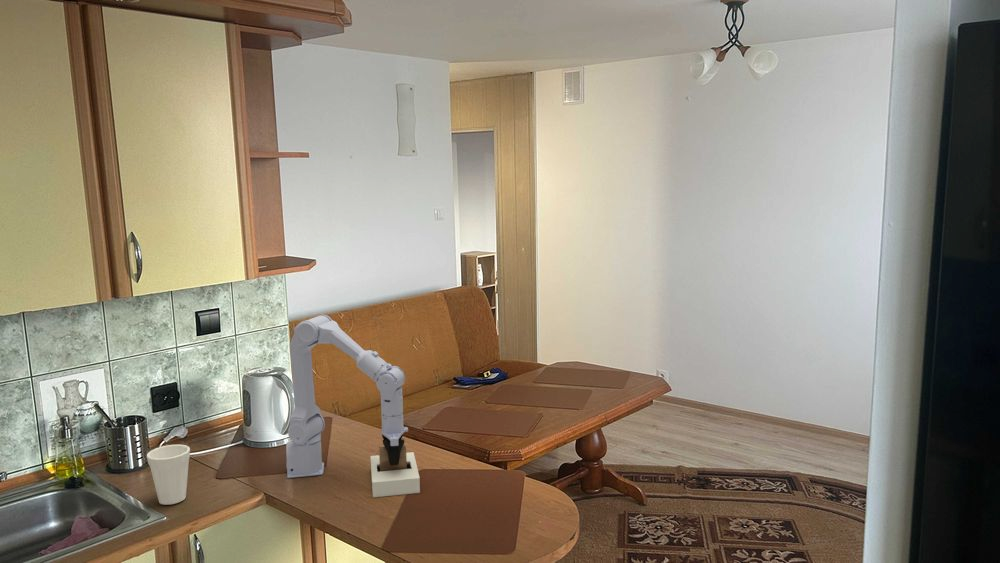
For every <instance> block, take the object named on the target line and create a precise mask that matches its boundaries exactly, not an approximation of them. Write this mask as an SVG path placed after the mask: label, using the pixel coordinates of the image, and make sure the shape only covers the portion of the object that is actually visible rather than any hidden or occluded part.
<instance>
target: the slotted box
mask: <svg viewBox="0 0 1000 563" xmlns="http://www.w3.org/2000/svg"><path fill="white" fill-rule="evenodd" d="M406 461H407V469H402V470H391V471H381V472H380V459H379V454H377V455H370V473H371V490H372V498H380V497H390V496H398V495H399V496H400V495H410V494H420V493H421V486H420V485H421V483H420V480H421V478H420V474H419V469H418V466H417V462H416V457H415V452H412V451H411V452H410V451H409V452H406Z"/></svg>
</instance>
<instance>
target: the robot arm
mask: <svg viewBox="0 0 1000 563" xmlns="http://www.w3.org/2000/svg"><path fill="white" fill-rule="evenodd" d="M317 344H318V345H319V344H320V345H321V344H324V345H325V344H326V345H327V344H329V345H330V344H332V345H334V346H335V347H337V348H338V349H339V350H341V351H342V352H343V353H345V354H346V355H348V356H349V357H351V358H352V359H353V360H355V363H356V367H357V368H358V369H359V370H360V371H361V372H363V374H365V375H367V377H369V379H370V378H371V380H372V381H373V382H375V385H376V389H377V390H378V391H379V394H380V410H381V412H380V413H381V415H380V416H381V417H380V418H381V430H380V431H381V432H380V433H381V437H382V445H383V447H385V448H386V450H387V453H388V458H389V462H390V465H391V466H392V465H398V464H399V459H400V452H401V449H402V447H403V445H405V439H404V438H403V436H404V433H407V432H409V427H408V426H404V401H403V400H404V399H403V398H404V396H403V385H404V384H405V382H406V374H405V372H404V370H403V369H402V368H401V367H399V366H397V365H393V366H392V364H391V363H390V362H389V363H388V362H386V361H385V359H383V358H381V357H380V356H379V353H378V352H377V351H376V350H374V351H373V350H371V349H369V350H365V349H363V347H361V346H360V345H359V344H358V343H357V342H356V341H354V340H353V339H352V337H350V336H349V335H348V334H347V333H346V332H345V331H344V330H342V329H341V327H340V325H339V324H338V322H337V321H335V320H332V318H331V317H330V316H328V315H326V314H319V315H317V316H315V317H312V318H309V319H306V320H302V321H300V322H299V323H298V324H297V325H296V326H295V327H294V328H293V335H292V338H291V340H290V343H289V355H290V364H291V365H290V366H291V374H292V375H291V376H292V389H293V396H294V397H293V398H294V399H293V400H294V409H293V411H292V413H291V415H290V418H289V426H288V430H287V436H288V438H289V440H290V441H287V442H286V448H285V453H286V454H285V456H286V464H285V465H286V466H285V467H286V474H287V475H286V478H287V479H291V478H303V477H304V478H305V477H313V476H322V475H323V474H324V468H325V462H323V460H322V457H323V456H322V442H321V441H322V438H321V437H322V432H323V431H324V429H325V426H326V424H325V423H326V422H325V419H324V417H323V415H322V412H321V408H320V407H319V406H317V404H316V396H315V384H314V372H313V361H312V360H313V359H312V349H313V348H315V346H316V345H317Z"/></svg>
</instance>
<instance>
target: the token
mask: <svg viewBox="0 0 1000 563" xmlns="http://www.w3.org/2000/svg"><path fill="white" fill-rule="evenodd" d="M378 452H379V454H378V455H379V459H380V470H379V472H381V471H391V470H402V469H408V467H407V461H406V453H407V445H406V444H404V445H403V447H402V449H401V452H400V459H399V464H398V465H392V466H391V465H390V462H389V458H388V453H387V450H386V448H385V446H379V447H378Z"/></svg>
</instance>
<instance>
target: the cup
mask: <svg viewBox="0 0 1000 563" xmlns="http://www.w3.org/2000/svg"><path fill="white" fill-rule="evenodd" d="M190 454H191V448H190V446H188V445H186V444H168V445H163V446H159V447H156V448H154V449H151V450H149V452H147V454H146V460H147V463H148V465H149V467H150V471H151V475H152V479H153V484H154V488H155V492H156V496H157V499H158V502H159V504H160V505H174V504H178V503H180V502H182V501H184V500H185V499H186V496H187V487H188V473H189V461H190V458H191V455H190Z"/></svg>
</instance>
